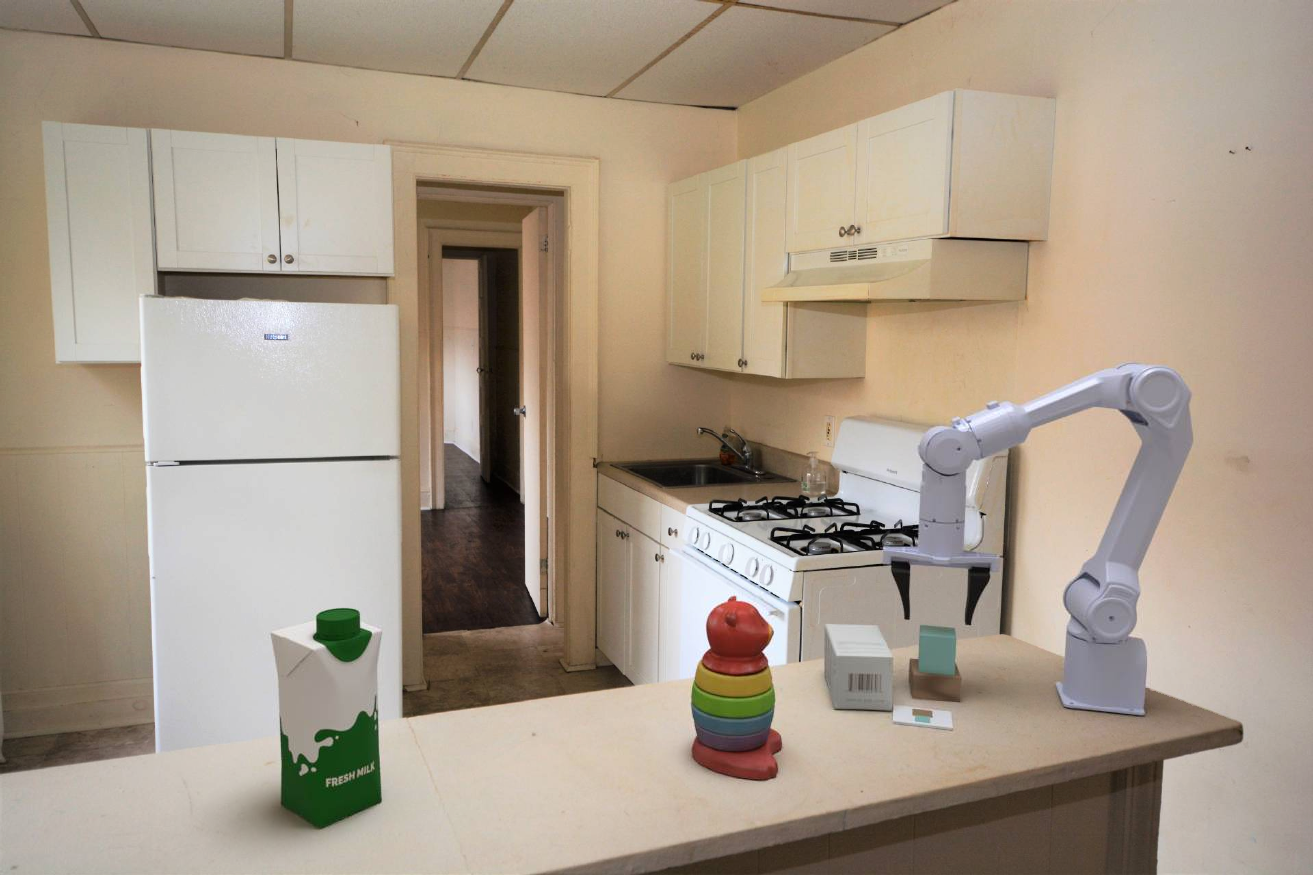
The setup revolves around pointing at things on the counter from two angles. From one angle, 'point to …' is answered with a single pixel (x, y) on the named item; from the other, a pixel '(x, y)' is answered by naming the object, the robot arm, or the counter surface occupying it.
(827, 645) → the supplement box
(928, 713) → the page
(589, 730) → the counter surface
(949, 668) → the teal block
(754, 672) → the stacking bear
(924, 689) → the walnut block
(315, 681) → the milk carton
